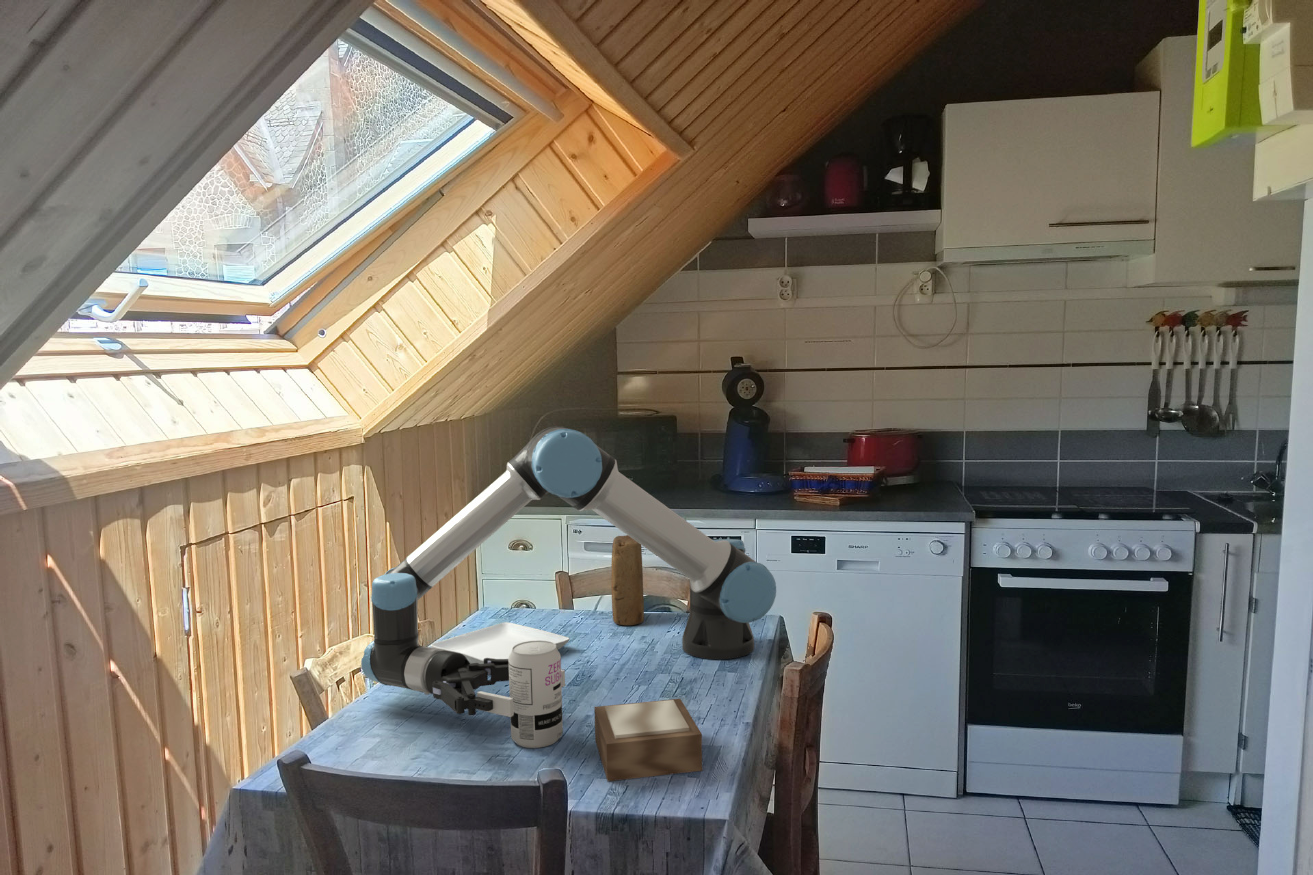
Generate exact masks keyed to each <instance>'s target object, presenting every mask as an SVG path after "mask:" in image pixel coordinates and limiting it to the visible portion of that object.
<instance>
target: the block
mask: <svg viewBox="0 0 1313 875" xmlns="http://www.w3.org/2000/svg"><path fill="white" fill-rule="evenodd" d="M642 551H643V550H642V545H641V544H639V543H638V542H637V541H635V540H634V539H632V538H631V537H630V536H628V535H627V534H625V535H617V536H615V537H614V538H613V541H612V547H611V573H610V574H611V576H610V578H611V579H610V580H611V581H610V582H611V611H612V621H613V623H615V624H617V625H619V626H635V625H639V624H641V623H644V620H645V606H644V605H645V603H644V600H645V599H644V598H645V597H644V577H643V574H644V571H643V555H642V553H643V552H642Z"/></svg>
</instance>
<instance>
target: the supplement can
mask: <svg viewBox="0 0 1313 875" xmlns="http://www.w3.org/2000/svg"><path fill="white" fill-rule="evenodd" d="M561 655H562V654H561V653H560V651H559V649H558V650H557V648H556V644H555V643H553V642H549V641H541V640H537V641H527V642H522V643H519V644H517V645H515V646H513V648H512V652H511V654H510V656H509V658H508V661H509V681H508V686H509V690H508V691H509V697H510V698H513V708H514V715H513V716H512V717H509V718H510V737H511V740H512V741H513V742H515V744H517V745H518V746H520V747H523V748H526V749H527V748H528V749H537V748H538V749H539V748H544V747H548V746H551V745H554V744H555V743H556V742H558V741H559V739H560V738H561V737H562V735H563V732H564V727H563V724H564V722H563V720H564V719H563V690H562V689H563V687H562V685H561V669H562V660H561V659H562V658H561V657H562V656H561Z"/></svg>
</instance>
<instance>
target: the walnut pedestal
mask: <svg viewBox="0 0 1313 875" xmlns="http://www.w3.org/2000/svg"><path fill="white" fill-rule="evenodd" d="M593 708H594V736H595V737H594V738H595V739H594V740H595V744H596V748H597V751H598V755H599V758H600V762H601V765H602V768H603V771H604V774H605V777H606V780H607V782H614V781H621V780H622V781H623V780H624V781H625V780H630V779H633V780H634V779H638V778H639V779H641V778H649V777H659V776H666V775H667V776H668V775H676V774H683V773H693V772H694V773H695V772H701V771H703V735H702V731H701V730H700V729H699V727H698V725H697V724H696V722H695V721H694V719H693V717H692V716H691V714H690V712H689V710H688V709H687V707H686V706H685V704H684V702H683V701H682V699H681V698H674V699H673V698H671V699H663V700H662V699H661V700H652V701H641V702H632V703H620V704H612V705H611V704H610V705H603V706H602V705H600V706H594V707H593Z"/></svg>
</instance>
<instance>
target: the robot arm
mask: <svg viewBox="0 0 1313 875" xmlns="http://www.w3.org/2000/svg"><path fill="white" fill-rule="evenodd" d="M548 493H550V494H551V495H555V496H556V497H558V498H559V499H561V500H563V501H564V502H566V503H567V504H569V505H570V506H571V507H572V508H574V509H576V510H577V511H578V512H582V511H583V512H584V511H588V510H590V511H591V510H592V512H594V513H595V514H597V515H598V516H600V517H601V518H603V519H604V520H605V521H607V522H608V523H610V524H611V525H613V526H615V528H617V529H618V530H620V531H621V532H622V533H624V534H625V535H628V536H630V537H631V538H632V539H634V540H635V541H637V542H638V543H639V544H641V547H644V548H645V549H646V550H648V551H649V552H650V553H652V554H654V555H656V556H657V557H658V558H660V559H661V560H663V562H665V563H666V564H668V565H669V566H671V567H672V568H673V569H675V570H676V571H678V572H679V573H680V574H682V575H683V576H685V577H687V579H689V580H688V581H689V614H688V618H687V621H686V624H685V626H684V630H683V633H682V639H681V642H682V644H681V645H682V647H681V648H682V650H683V652H684V653H686V654H687V655H690V656H692V657H696V658H700V659H707V660H731V659H737V658H741V657H745V656H747V655H749V654H751V653H752V652H753V651H754V650H755V637H754V633H753V630H752V628H751V624H750V623H754V622H756V621H758V620H760V619H762V618H763V617H764V616H765V615H767V614H768V612H769V611H770V610H771V608H772V607H773V605H774V603H775V600H776V596H777V585H776V584H777V583H776V581H775V580H776V578H774V575H773V574H772V572H771V571H770V569H768V567H767V566H765V565H764V564H763V563H761V562H757V561H756V560H755V559H753V558H752V557H750V556H749V555H747V554H746V548H745V543H744V541H743V540H741V539H732V538H728V539H727V538H723V539H722V538H721V539H712V538H710V537H709V536H708V535H707V534H706V533H704V532H702V531H701V530H699V529H698V528H697V527H695V526H694V525H692V524H691V523H690V522H688V521H687V520H686V519H684V518H683V517H682V516H680V515H679V514H677V513H676V512H675V511H673V510H672V509H671V508H670V507H668V506H666V505H665V504H664V503H662V502H661V501H659V499H657V498H655V497H654V496H653V495H651V494H650V493H649V492H647V491H646V490H645V489H643V488H642V487H640V486H639V485H637V483H635V482H634V481H632V480H631V479H629V478H628V477H626V476H625V475H624V474H622V472H619V469H618V463H617V459H616V458H615V457H613V456H612V455H610V454H608V453H607V452H606V451H605V450H604V449H602V448H601V447H600V446H598V445H597V444H596V443H595V442H594V441H593V440H592V438H590V436H588V435H586V434H584V433H583V432H581V431H578V430H577V429H576V430H575V429H572V428H568V427H565V426H559V425H558V426H549V427H547V428H545V429H542V430H541V431H539V432H538V433H536V434H535V435H534V436H533V437H532V438H531V439H530V440H529V442H527V444H526V445H524V447H522V449H521V450H520V451H519V452H518V453H517V454H516V455H515V456H514V457H512V458H511V459H510V460H509V461H508V462H507V463H506V470H505V471H504V472H503V473H502V474H500V475H499V477H498V478H496V479H495V480H494V481H493V482H492V483H491V484H490V485H488V486H487V487H486V488H485V489H484V490H482V491H481V492H480V493H479V494H478V495H477V496H476V497H475V498H473V499H472V500H471V501H470V502H469V503H468V504H466V505H465V506H464V507H463V508H462V509H461V510H459V512H457V513H456V514H455V515H454V516H452V517H451V519H449V520H448V521H447V522H446V523H445V524H444V525H443V526H440V528H439V529H438V530H437V531H435V532H434V533H433V534H432V535H431V536H430V537H429V538H428V539H426V540H425V541H424V542H423V543H422V544H420V545H419V546H418V547H417V548H416V549H414V551H413V552H411V553H410V554H409V555H408V556H406V558H405V559H404V560H403V561H401V562H400V563H398V565H396V566H395V567H392V568H390V569H388V570H387V571H386V572H385V573H384V574H382V575H379V576H377V577H375V578H374V579H373V581H372V583H371V596H370V598H371V600H370V601H371V604H372V617H373V619H372V620H373V635H374V636H373V641H371V642H369V644H367V645H366V646H365V649H364V651H363V656H362V657H361V661H360V665H361V671H362V672H363V674H364V676H365V677H366V678H367V679H368V680H370V681H372V682H375V683H379V684H381V685H384V686H390V687H398V688H403V689H407V690H411V691H416V692H420V693H424V695H428V696H429V694H430V695H433V696H432V698H433V699H437V700H440V701H442V703H444V704H445V705H446V706H447V707H449V709H451V710H453V711H454V712H455V713H456V714H457V715H463V714H465V712H466V711H465V710H467V715H468V716H475V715H476V714H477V712H476V711H477V710H478V711H482V712H487V713H491V714H496V715H499V716H505V717H509V718H510V717H512V716H513V715H514V708H513V698H510V696H505V695H500V694H496V693H491V692H490V693H489V692H486V691H481V690H480V691H477V692H476V693H475V691H476V690H477V689H479V688H480V687H485V686H494V685H496V683H498V682H509V661H508V659H493V658H485V659H484V664H479V663H471V664H470V663H469V661H468V660H467V658H466V657H465V656H464V655H463V654H461V653H457V652H452V651H446V650H442V649H437V648H432V647H431V646H430V647H429V646H423V645H420V644H419V625H418V624H419V622H418V621H419V620H418V619H419V617H418V603H419V602H418V601H419V600H420V599H421V598H422V597H423V596H425V595H426V594H427V593H428V592H429V591H430V590H431V589H432V588H433V587H434V586H435V585H436V584H437V583H439V582H440V581H441V580H442V579H443V578H445V576H447V574H449V573H450V572H451V571H452V570H454V569H455V568H456V567H457V566H458V565H460V564H461V563H462V562H463V560H465V559H466V558H467V557H468V556H470V555H471V554H472V553H473V552H475V551H476V549H477V548H479V547H480V546H481V545H482V544H484V543H485V541H487V540H488V539H489V538H490V537H491V536H492V535H494V533H496V532H497V531H498V530H499V529H500V528H501V527H503V526H504V525H505V524H506V523H507V522H509V520H511V519H512V518H513V517H514V516H515V515H516V514H518V513H519V512H520V511H521V510H522V509H523V508H524V507H526V506H527V505H528V504H529V503H530V502H531V501H533V500H534V501H535V500H537V501H540V500H541V499H543V498H544V497H545V496H546V495H547V494H548ZM489 676H490V679H489ZM561 685H562V688H564V687H565V686H566V670H565V669H562V668H561Z"/></svg>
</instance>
